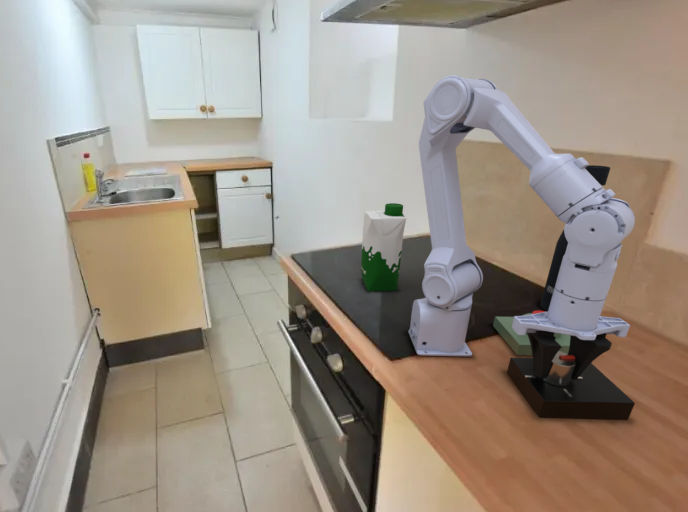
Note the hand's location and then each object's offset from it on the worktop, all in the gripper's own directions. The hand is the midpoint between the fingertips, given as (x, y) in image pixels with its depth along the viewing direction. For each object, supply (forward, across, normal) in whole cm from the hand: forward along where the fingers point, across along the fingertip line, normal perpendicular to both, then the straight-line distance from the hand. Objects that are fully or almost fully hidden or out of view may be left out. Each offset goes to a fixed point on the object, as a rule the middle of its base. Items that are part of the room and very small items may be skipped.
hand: (554, 375), depth 56 cm
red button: (0, +6, +15) cm, 16 cm away
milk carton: (+4, -20, +39) cm, 44 cm away
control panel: (+3, +2, 0) cm, 4 cm away
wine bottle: (+4, +17, +28) cm, 33 cm away
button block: (+3, +6, +15) cm, 17 cm away
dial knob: (0, 0, 0) cm, 0 cm away
